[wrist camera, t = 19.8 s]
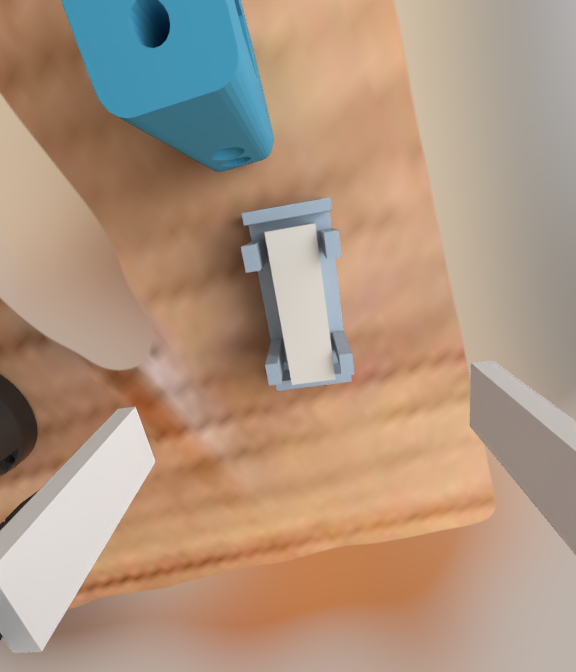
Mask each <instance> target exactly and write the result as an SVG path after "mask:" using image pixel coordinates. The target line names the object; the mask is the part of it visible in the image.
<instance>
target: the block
mask: <svg viewBox="0 0 576 672" xmlns="http://www.w3.org/2000/svg"><path fill="white" fill-rule="evenodd" d="M61 2H62V4H63V7H64V10H65V12H66V15H67V18H68V20H69V23H70V26H71V28H72V31H73V34H74V37H75V39H76V42H77V45H78V47H79V50H80V53H81V55H82V58H83V61H84V64H85V66H86V69H87V72H88V74H89V77H90V80H91V82H92V85H93V88H94V90H95V93H96V95H97V97H98V99H99V101H100V102H101V104H102V105H103V106H104V107H105V108H106V109H107V110H108V111H109V112H110V113H112V114H113V115H115V116H117V117H119V118H121V119H122V120H124V121H126V122H128V123H130V124H131V125H133V126H135V127H137V128H139V129H140V130H142V131H144V132H146V133H147V134H149V135H151V136H153V137H155V138H156V139H158V140H160V141H162V142H164V143H165V144H167V145H169V146H171V147H173V148H174V149H176V150H178V151H180V152H182V153H183V154H185V155H187V156H189V157H190V158H192V159H194V160H196V161H198V162H199V163H201V164H203V165H205V166H207V167H208V168H210V169H212V170H214V171H217V172H221V171H225V170H229V169H232V168H236V167H239V166H243V165H246V164H250V163H253V162H257V161H260V160H263V159H265V158H267V157H268V156H269V154H270V153H271V150H272V146H273V132H272V128H271V124H270V119H269V115H268V111H267V106H266V102H265V98H264V93H263V89H262V85H261V80H260V76H259V72H258V67H257V63H256V59H255V54H254V50H253V46H252V42H251V38H250V34H249V31H248V27H247V23H246V19H245V15H244V11H243V8H242V4H241V0H61Z"/></svg>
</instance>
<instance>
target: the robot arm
mask: <svg viewBox="0 0 576 672" xmlns="http://www.w3.org/2000/svg"><path fill="white" fill-rule="evenodd" d="M470 427H471V428H472V429H473V430H474V432H475V433H476V434H477V435H478V436H479V438H480V439H481V440H482V441H483V443H484V444H485V445H486V446H487V447H488V449H489V450H490V451H491V452H492V454H493V455H494V456H495V457H496V458H497V460H498V461H499V462H500V463H501V465H502V466H503V467H504V468H505V469H506V471H507V472H508V473H509V474H510V475H511V477H512V478H513V479H514V480H515V481H516V483H517V484H518V485H519V486H520V488H521V489H522V490H523V491H524V493H525V494H526V495H527V496H528V497H529V499H530V500H531V501H532V502H533V504H534V505H535V506H536V507H537V508H538V509H539V511H540V512H541V513H542V514H543V515H544V517H545V518H546V519H547V521H548V522H549V523H550V524H551V526H552V527H553V528H554V529H555V530H556V532H557V533H558V534H559V535H560V536H561V538H562V539H563V540H564V541H565V543H566V544H567V545H568V546H569V547H570V549H571V550H572V551H573V552H574V554H575V555H576V421H575V420H573V419H572V418H571V417H569V416H568V415H567V414H565V413H564V412H563V411H561V410H560V409H558V408H557V407H556V406H554V405H553V404H552V403H550V402H549V401H547V400H546V399H545V398H543V397H542V396H541V395H539V394H538V393H537V392H535V391H534V390H532V389H531V388H530V387H528V386H527V385H526V384H524V383H523V382H522V381H520V380H519V379H518V378H516V377H515V376H513V375H512V374H511V373H509V372H508V371H507V370H505V369H504V368H503V367H501V366H500V365H498V364H497V363H496V362H494V361H493V360H490V361H482V362H475V363H471V389H470ZM36 439H37V424H36V420H35V417H34V414H33V411H32V409H31V407H30V405H29V404H28V402H27V400H26V399H25V398H24V396H23V395H22V394H21V393H20V392H19V390H18V389H17V388H16V387H15V386H14V385H13V384H11V383H10V382H9V381H8V380H7V379H5V378H4V377H3V376H1V375H0V476H2V475H4V474H6V473H7V472H9V471H10V470H12V469H13V468H14V467H16V466H17V465H18V464H19V463H20V462H21V461H23V460H24V459H25V458H26V457H27V456H28V455H29V454H30V453H31V451H32V450H33V448H34V446H35V443H36ZM154 463H155V459H154V456H153V454H152V451H151V448H150V445H149V443H148V440H147V437H146V434H145V432H144V429H143V426H142V423H141V421H140V418H139V415H138V412H137V409H136V407H130V408H122V409H117V410H116V411H115V412H114V413H113V414H112V416H111V417H110V418H109V419H108V420H107V421H106V422H105V423H104V424H103V425H102V426H101V427H100V428H99V429H98V430H97V431H96V432H95V433H94V434H93V435H92V436H91V437H90V438H89V439H88V440H87V441H86V442H85V443H84V445H83V446H82V447H81V448H80V449H79V450H78V451H77V452H76V453H75V454H74V455H73V456H72V457H71V458H70V459H69V460H68V461H67V462H66V463H65V464H64V465H63V466H62V467H61V468H60V469H59V470H58V471H57V472H56V474H55V475H54V476H53V477H52V478H51V479H50V480H49V481H48V482H47V483H46V484H45V485H44V486H43V487H42V488H41V489H40V490H39V491H37V492H36V493H35V494H33V495H32V496H30V497H29V498H28V499H26V500H25V501H24V502H22V503H21V504H20V505H19V506H18V507H17V508H16V509H15V510H14V511H13V512H12V513H11V514H10V515H9V516H8V517H7V518H6V519H5V522H2V523H1V524H0V640H1V638H3V640H4V641H5V643H6V644H7V645H8V647H9V648H10V650H11V651H12V653H24V652H41V651H42V650H43V648H44V647H45V645H46V644H47V642H48V640H49V639H50V637H51V635H52V634H53V632H54V630H55V629H56V627H57V625H58V624H59V621H60V620H61V619H62V617H63V615H64V613H65V612H66V610H67V609H68V607H69V605H70V604H71V602H72V600H73V599H74V597H75V595H76V594H77V592H78V590H79V589H80V587H81V585H82V584H83V582H84V580H85V579H86V577H87V575H88V574H89V572H90V570H91V569H92V567H93V565H94V564H95V562H96V560H97V559H98V557H99V555H100V554H101V552H102V550H103V549H104V547H105V545H106V544H107V542H108V540H109V539H110V537H111V535H112V534H113V532H114V530H115V528H116V527H117V525H118V523H119V522H120V520H121V518H122V517H123V515H124V513H125V512H126V510H127V508H128V507H129V505H130V503H131V502H132V500H133V498H134V497H135V495H136V493H137V492H138V490H139V488H140V487H141V485H142V483H143V482H144V480H145V478H146V477H147V475H148V473H149V472H150V470H151V468H152V467H153V465H154Z"/></svg>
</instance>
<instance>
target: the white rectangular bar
mask: <svg viewBox="0 0 576 672" xmlns="http://www.w3.org/2000/svg"><path fill="white" fill-rule="evenodd" d="M264 233H265V238H266V244H267V250H268V255H269V261H270V266H271V272H272V277H273V283H274V288H275V294H276V300H277V305H278V311H279V316H280V322H281V327H282V333H283V338H284V344H285V350H286V355H287V361H288V366H289V372H290V377H291V383H292V385H296V384H304V383H312V382H319V381H327V380H335V379H336V378H335V371H334V363H333V355H332V348H331V340H330V332H329V325H328V317H327V309H326V302H325V294H324V287H323V279H322V271H321V264H320V256H319V248H318V241H317V233H316V225H315V223H309V224H303V225H297V226H292V227H286V228H280V229H274V230H269V231H266V232H264Z"/></svg>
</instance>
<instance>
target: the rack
mask: <svg viewBox="0 0 576 672" xmlns="http://www.w3.org/2000/svg"><path fill="white" fill-rule="evenodd" d="M331 210H332V206H331V197H329V198H324V199H318V200H313V201H307V202H302V203H296V204H290V205H285V206H279V207H274V208H268V209H263V210H257V211H252V212H246V213H242V218H243V223H244V226H246V225H248V226H249V231H250V236H251V241H252V242H250V243H248V244H246V245H244V246H241V251H242V256H243V261H244V266H245V271H246V273H248V272H254V271H257V272H258V277H259V282H260V287H261V293H262V298H263V303H264V308H265V313H266V318H267V323H268V329H269V334H270V339H271V343H270V347H269V351H268V355H267V359H266V363H265V368H266V373H267V378H268V382H269V386H270V385H276V389H277V391H281V390H288V389H296V388H304V387H312V386H319V385H327V384H335V383H342V382H350V381H351V375H353V374H354V366H353V356H352V351H351V349H350V346H349V344H348V341H347V338H346V336H345V333H344V331H343V322H342V314H341V305H340V296H339V288H338V279H337V271H336V262H335V258H340V257H342V256H341V247H340V238H339V230H336V229H333V228H331V219H330V211H331ZM309 223H315V225H316V233H317V241H318V248H319V256H320V264H321V271H322V279H323V287H324V294H325V302H326V309H327V317H328V325H329V332H330V340H331V348H332V355H333V363H334V371H335V378H336V379H335V380H327V381H319V382H312V383H304V384H296V385H292V383H291V377H290V372H289V366H288V361H287V355H286V350H285V344H284V338H283V333H282V327H281V322H280V316H279V311H278V305H277V300H276V294H275V288H274V283H273V277H272V272H271V266H270V261H269V255H268V250H267V244H266V238H265V233H264V232H266V231H269V230H274V229H280V228H286V227H292V226H297V225H303V224H309Z"/></svg>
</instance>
